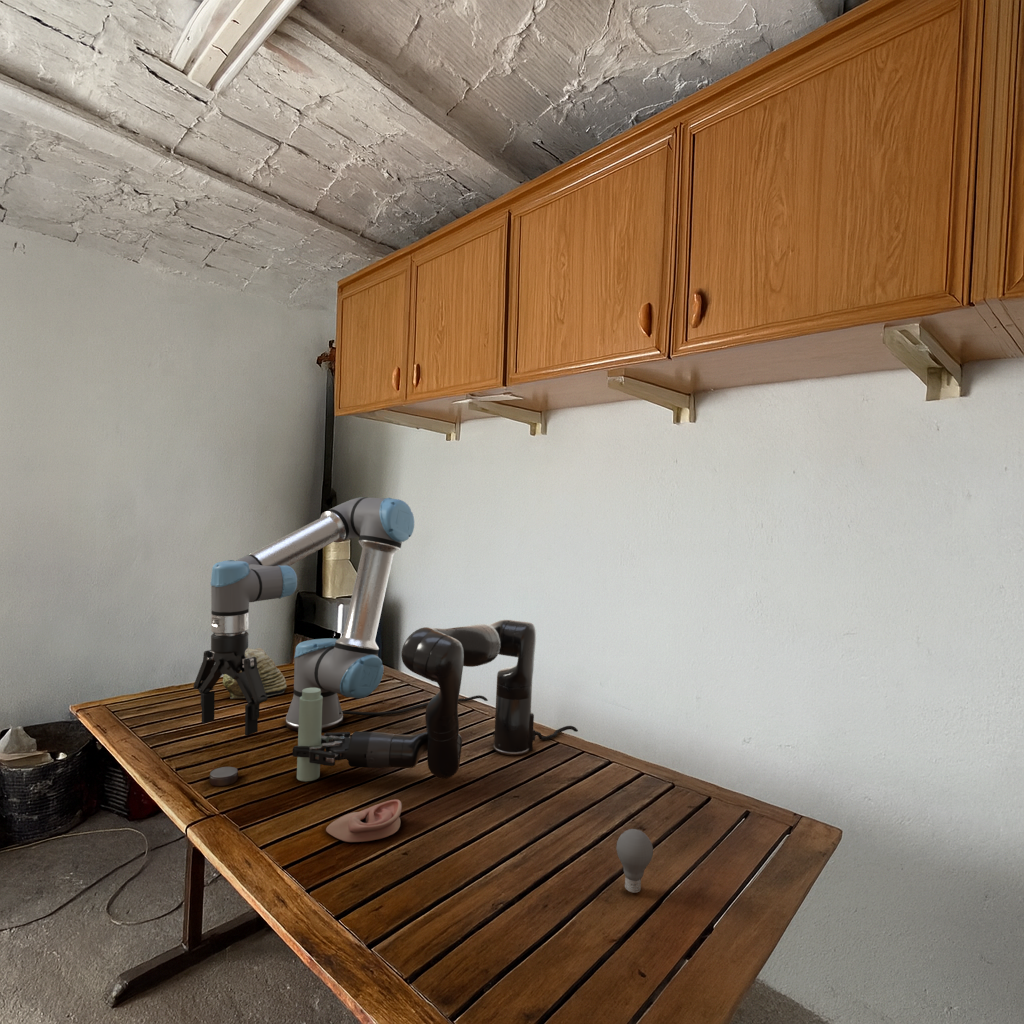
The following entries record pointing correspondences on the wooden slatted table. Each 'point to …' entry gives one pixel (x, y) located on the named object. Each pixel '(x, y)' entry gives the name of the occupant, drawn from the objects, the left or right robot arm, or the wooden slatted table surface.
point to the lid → (223, 776)
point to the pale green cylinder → (309, 731)
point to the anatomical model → (368, 823)
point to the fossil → (267, 671)
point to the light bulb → (634, 857)
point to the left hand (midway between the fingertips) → (229, 727)
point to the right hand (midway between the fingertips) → (297, 746)
